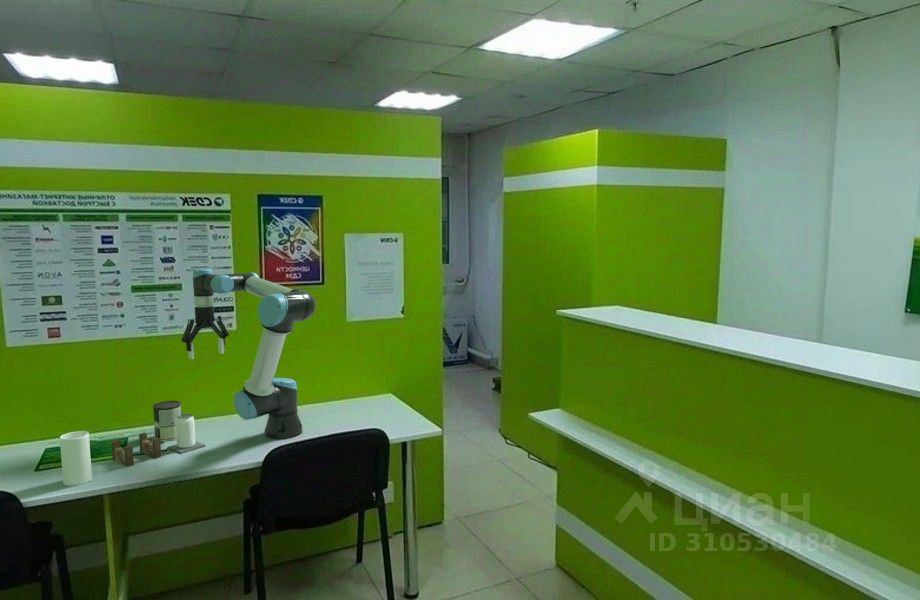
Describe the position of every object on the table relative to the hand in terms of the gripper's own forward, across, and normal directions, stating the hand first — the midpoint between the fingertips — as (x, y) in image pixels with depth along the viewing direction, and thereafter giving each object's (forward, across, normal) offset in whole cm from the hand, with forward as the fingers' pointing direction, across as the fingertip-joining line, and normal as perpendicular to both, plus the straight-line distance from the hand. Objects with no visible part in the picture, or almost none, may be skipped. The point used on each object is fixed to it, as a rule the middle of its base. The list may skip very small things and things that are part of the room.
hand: (206, 356), depth 254 cm
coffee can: (+32, +16, -4) cm, 36 cm away
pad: (+32, +18, +13) cm, 39 cm away
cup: (+32, +57, +14) cm, 67 cm away
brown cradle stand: (+32, +35, +9) cm, 48 cm away
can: (+31, +18, +13) cm, 38 cm away
